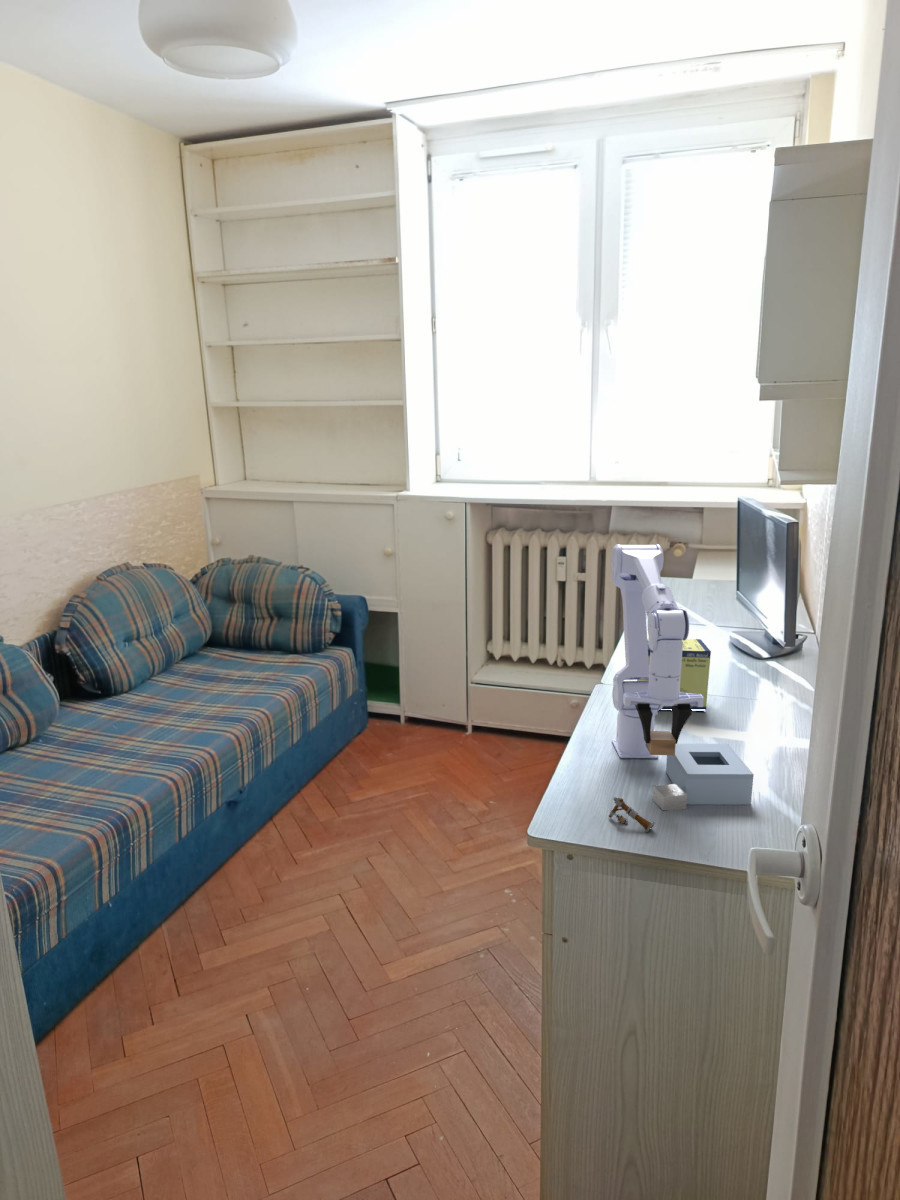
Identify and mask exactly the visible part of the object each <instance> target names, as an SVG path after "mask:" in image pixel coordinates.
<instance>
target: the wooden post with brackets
mask: <svg viewBox="0 0 900 1200" xmlns="http://www.w3.org/2000/svg"><path fill="white" fill-rule="evenodd" d="M612 800H613V801H614V804H615V806H614V807H613V809H612V810H611V811H610V812H609V814H608V818H609V819H612V818H613V816H615V818H617V822H619V823H621V822H622V823H625V824H624V825H628V823H629V821H628V818H626V817H624V816H623V814H621V815H620V814H617V812H619V811H624V812H625V814H626V815H628V816H629V817H631V818H632V819H633V820H635V821H636V822H637V823H638V824H639V825H640V826H642V828H644V830H645V831H644V832H645V833H646V832H647V833H648V832H649V831H650V830H651V829H650V828H652V829H653V828H654V825H655V824H656V822H655V821H649V820H647V819H645V818H644V817H642V816H641V815H639V813H638V812H637V811H635V809H634V808H632V807H631V806H629V805H627V804H626V803H625V801H624V799H623V798H622V797H619V796H618V797H617V796H614V797H613V798H612ZM622 823H621V824H622ZM649 829H650V830H649Z"/></svg>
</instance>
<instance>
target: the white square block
mask: <svg viewBox="0 0 900 1200" xmlns="http://www.w3.org/2000/svg"><path fill="white" fill-rule="evenodd" d="M652 802H654V803H655V804H656V806H659V807H660V808H661V809H662V810H672V811H680V810H681V809H682V810H687V805H688V804H687V794H686V793H685V792H684V791H683V790H682V789H681V788H679V787H678V786H677V785H676V784H673V783H672V784H661V785H653V786H652ZM659 807H658V808H659ZM660 808H659V809H660ZM661 809H660V810H661ZM662 810H661V811H662Z"/></svg>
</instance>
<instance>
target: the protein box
mask: <svg viewBox="0 0 900 1200" xmlns="http://www.w3.org/2000/svg"><path fill="white" fill-rule="evenodd" d="M648 641H649V637H647V643H648ZM682 642H683V650H682V664H681V678H680V692H683V693H692V694H701V695H702V696H703V697H704V701H703V707H697V706H690V708H691V709H706V710H707V701H708V690H709V679H710V678H709V677H710V676H709V675H710V668H711V667H710V666H711V665H710V664H711V653H712V651H711V650H710V648H708V646H707V645H706V644H705V642H703V640H702V639H699V638H687V639H686V640H685V641H684V640H682ZM648 660H649V665H650V647H649V644H648ZM636 681H648V680H636ZM662 709H672V706H663V707H662Z"/></svg>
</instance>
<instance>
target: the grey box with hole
mask: <svg viewBox="0 0 900 1200" xmlns="http://www.w3.org/2000/svg"><path fill="white" fill-rule="evenodd" d="M665 764H666V765H665V766H666V767H665V773H666V775H668V778H669V779H670V781H671V782H672V784H676V785H677V786H678V787H679V788H681V789H682V790H683V791H684V792H685V793H686V794H687V804H686V805H738V806H739V805H740V806H741V805H746V806H747V805H752V804H751V803H752V796H753V795H752V794H753V785H754V775H755V774H754V773H753V771H752V770H751V769H750V768H749V767H748V765H746V763H745V762H744V760H742V759H741V757H740V756H739V755H738V754H737V752H736V751H735V750H734V749H733V748H732V747H731V746H730V744H729V743H677V744H676V746H675V755H666V763H665Z"/></svg>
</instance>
